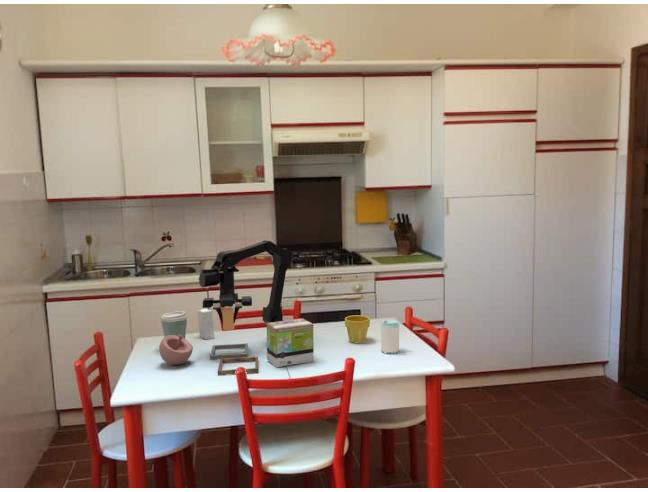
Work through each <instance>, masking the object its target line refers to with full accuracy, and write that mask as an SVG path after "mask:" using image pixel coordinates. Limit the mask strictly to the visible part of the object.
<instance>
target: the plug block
mask: <svg viewBox="0 0 648 492" xmlns="http://www.w3.org/2000/svg"><path fill="white" fill-rule="evenodd" d="M222 313H223V324H222V325H223V326H222V331H234V330H235V324H234V307H233V306H232V307H222Z"/></svg>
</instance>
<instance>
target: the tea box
mask: <svg viewBox="0 0 648 492" xmlns="http://www.w3.org/2000/svg"><path fill="white" fill-rule="evenodd" d="M266 361H268V362H269V363H270V364H271V365H272V366H274V367H275V368H281V367H284V366H285V367H286V366H292V365H298V364H306V363H312V362H314V323H312V322H310V321H308V320H306V319H304V318H294V319H286V320H283V321H279V322H271V323H267V325H266Z"/></svg>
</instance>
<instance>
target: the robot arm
mask: <svg viewBox="0 0 648 492" xmlns="http://www.w3.org/2000/svg"><path fill="white" fill-rule="evenodd" d="M263 253H267V254H268V255H271V256H272V263H273V268H274V271H273V276H272V283H271V290H270V295H269V303H268V304H267V306H266V307H265V306H263V307H262V312H261V317H262V321H263V323H264V324H265V325H266V326H267V323H271V322H279V321H284V320H283V319H284V318H283V309H282V300H283V299H282V298H283V292H284V287H285V281H286V280H285V279H286V275H287V270H288V269H289V267H290V266H291V264H292V261H293V257H294V256H293V255H294V254H293V252H292V251H291V249H288V248H284V247H282V246H280V245H278V244H276V243H274V242H272V241H271V240H267V239H265V240H262V241H260V242H257V243H255V244H251V245H247V246H245V247H241V248H239V249H232V250H223V251H219V252H218V253H217V255H216V260H215V261H214V263H212V265H211V267H210V268H202V269H200V273H199V277H198V282H199V286H200V287H201V288H209V287H216V286H218V284H219V296H218V298H219V299H215V297H205V298H204V299H203V300H202V308H203V309H207V308H208V309H211V308H212V310H214V311H216V312H217V314H218V316H219V319H220V322H221V324H222V325H223V312H222V310H223V308H228V307H233V306H234V308H233V311H234V325H235V323H236V320H237V316H238V313H239V310H240V309H242V308H243V307H251V306H253V298H252V297H253V296H251V295H250V296H249V295H246V296H245V295H243V296H241V298H239V294H238V292H235V273H238V272H240V269H238V268H237V267H236V265H237V264H239V263H240V262H241V261H243V260H245V259H248V258H251V257H254V256H256V255H260V254H263Z"/></svg>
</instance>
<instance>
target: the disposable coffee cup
mask: <svg viewBox="0 0 648 492" xmlns="http://www.w3.org/2000/svg"><path fill="white" fill-rule="evenodd" d="M187 321H188V314H187V312H186V311H184V310H177V311H172V312H167V313H164V314H162V315H161V317H160V323H161V327H162V333H163V338H164V337H166V336H168V335H176V336H178V335H179V334H180V335H182V336H183V338H184V339H186V334H187V333H186V332H187V325H188V323H187Z"/></svg>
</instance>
